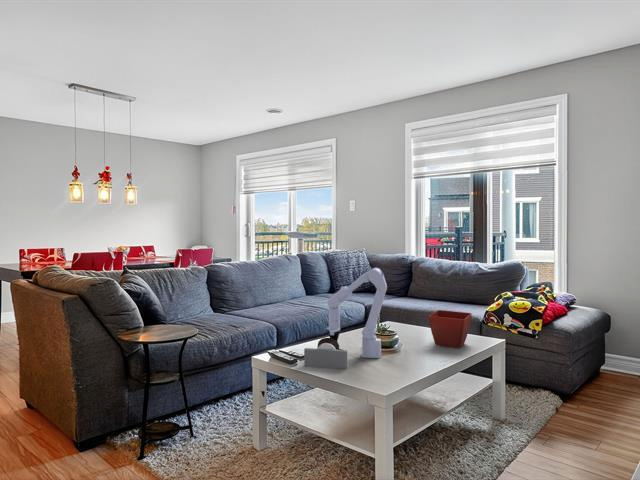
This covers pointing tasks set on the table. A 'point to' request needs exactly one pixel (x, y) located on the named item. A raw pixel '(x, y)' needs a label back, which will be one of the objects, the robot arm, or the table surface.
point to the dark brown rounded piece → (330, 341)
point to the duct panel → (325, 357)
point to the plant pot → (449, 327)
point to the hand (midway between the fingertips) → (334, 346)
